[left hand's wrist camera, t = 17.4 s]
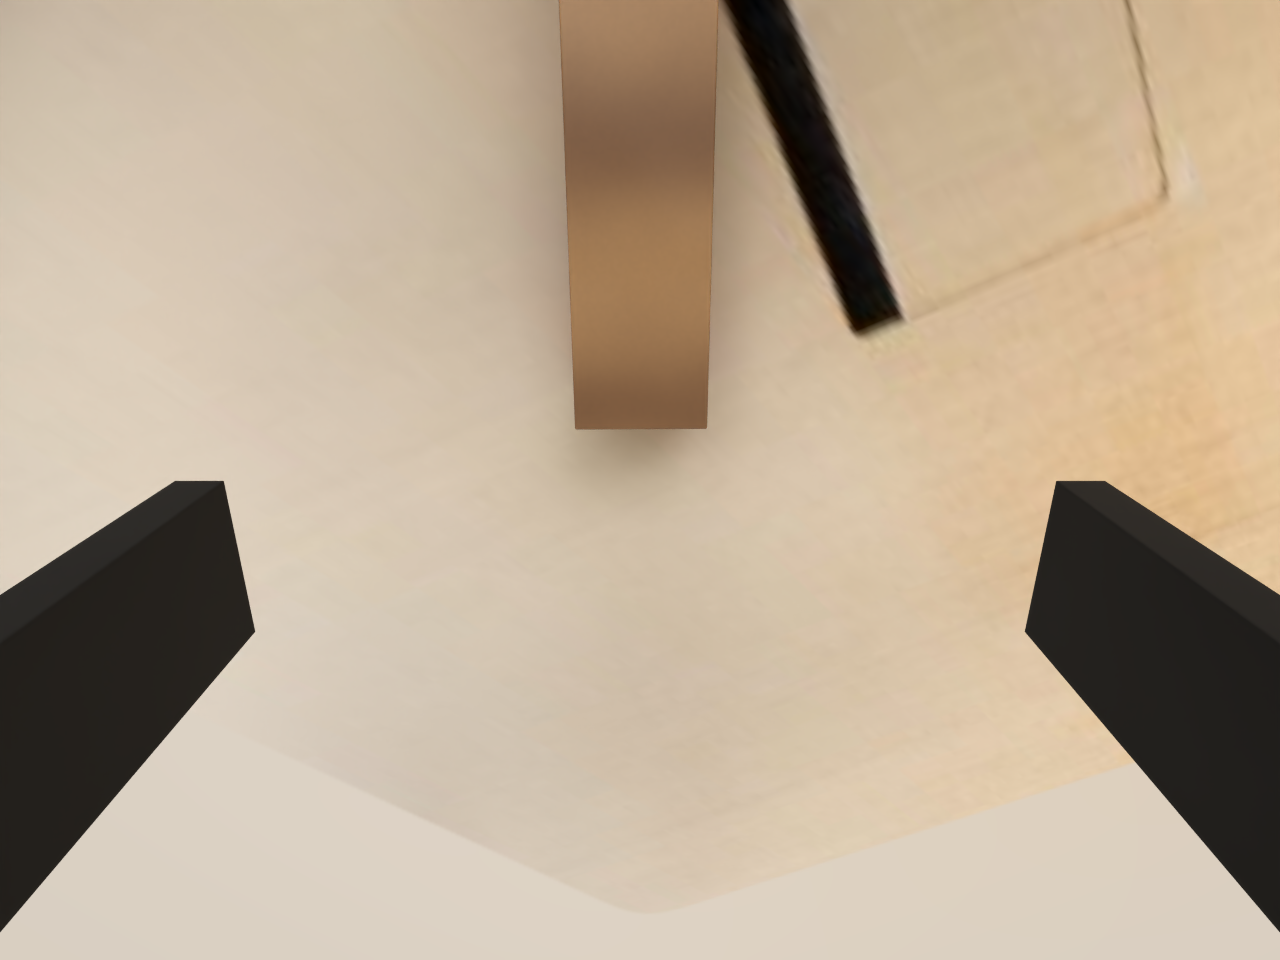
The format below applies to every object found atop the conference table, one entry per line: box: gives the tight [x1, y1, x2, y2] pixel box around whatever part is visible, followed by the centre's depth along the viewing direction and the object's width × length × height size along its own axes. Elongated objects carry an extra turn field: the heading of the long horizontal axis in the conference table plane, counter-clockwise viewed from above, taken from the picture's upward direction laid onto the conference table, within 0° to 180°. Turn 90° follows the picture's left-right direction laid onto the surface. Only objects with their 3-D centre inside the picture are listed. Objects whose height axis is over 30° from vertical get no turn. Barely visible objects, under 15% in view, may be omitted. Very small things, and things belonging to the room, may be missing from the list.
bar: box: [559, 0, 718, 429], centre depth 31 cm, size 22×5×8 cm, turn 0°
